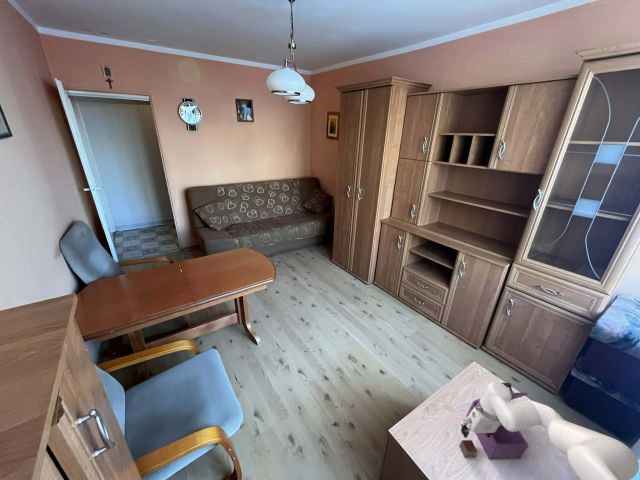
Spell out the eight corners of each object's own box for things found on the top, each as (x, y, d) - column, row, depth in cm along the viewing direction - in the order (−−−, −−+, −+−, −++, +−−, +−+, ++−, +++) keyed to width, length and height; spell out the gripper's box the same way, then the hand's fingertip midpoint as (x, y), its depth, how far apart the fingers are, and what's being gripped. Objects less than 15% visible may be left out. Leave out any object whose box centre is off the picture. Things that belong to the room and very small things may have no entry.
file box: (519, 458, 112) (529, 445, 108) (488, 459, 111) (496, 446, 107) (493, 415, 128) (500, 402, 124) (466, 415, 127) (472, 402, 123)
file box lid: (527, 394, 109) (521, 381, 112) (495, 394, 108) (490, 381, 112) (501, 403, 123) (496, 391, 126) (473, 403, 123) (469, 391, 126)
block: (474, 457, 112) (477, 451, 110) (464, 457, 111) (467, 452, 110) (468, 445, 116) (471, 440, 114) (459, 445, 115) (461, 440, 114)
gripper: (472, 419, 97) (459, 444, 105) (517, 419, 98) (500, 444, 105) (462, 399, 103) (450, 424, 111) (504, 399, 104) (489, 423, 112)
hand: (474, 433), depth 108 cm, fingers open, 9 cm apart
